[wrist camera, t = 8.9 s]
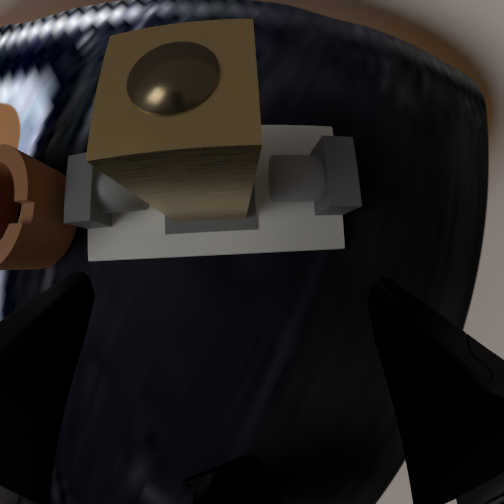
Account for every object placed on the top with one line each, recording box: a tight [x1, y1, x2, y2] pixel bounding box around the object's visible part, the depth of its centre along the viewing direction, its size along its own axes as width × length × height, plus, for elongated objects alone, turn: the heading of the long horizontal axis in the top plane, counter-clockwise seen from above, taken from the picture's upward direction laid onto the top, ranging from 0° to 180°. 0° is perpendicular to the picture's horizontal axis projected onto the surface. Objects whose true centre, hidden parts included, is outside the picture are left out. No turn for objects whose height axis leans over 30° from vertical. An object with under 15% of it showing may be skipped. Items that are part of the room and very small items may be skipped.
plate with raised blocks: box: [64, 125, 362, 261], centre depth 18 cm, size 18×9×4 cm, turn 93°
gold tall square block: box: [86, 19, 262, 222], centre depth 13 cm, size 5×5×13 cm
